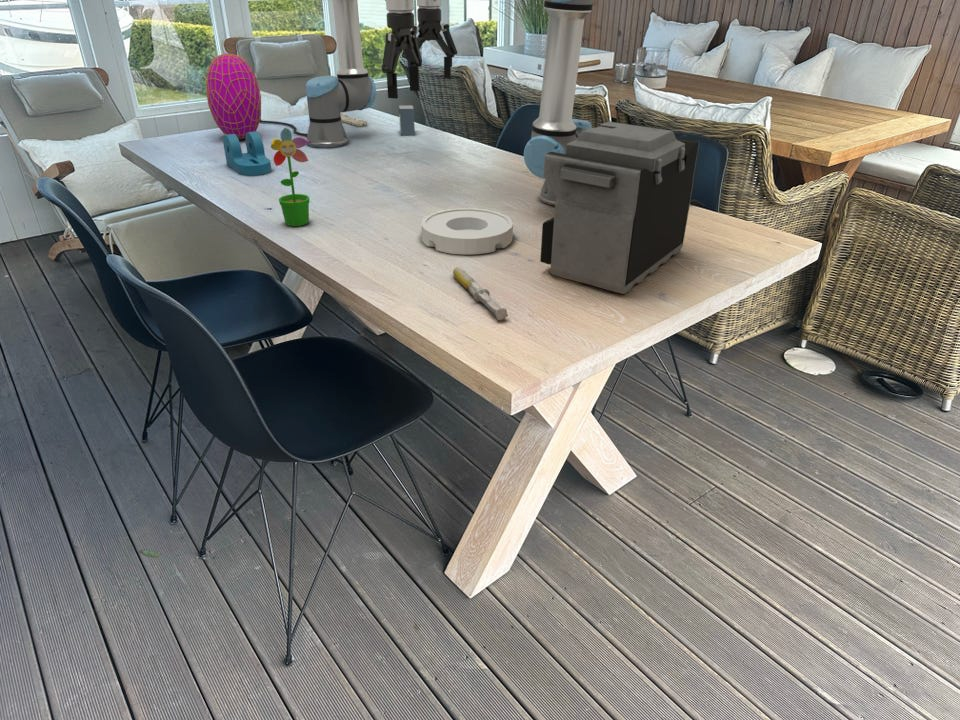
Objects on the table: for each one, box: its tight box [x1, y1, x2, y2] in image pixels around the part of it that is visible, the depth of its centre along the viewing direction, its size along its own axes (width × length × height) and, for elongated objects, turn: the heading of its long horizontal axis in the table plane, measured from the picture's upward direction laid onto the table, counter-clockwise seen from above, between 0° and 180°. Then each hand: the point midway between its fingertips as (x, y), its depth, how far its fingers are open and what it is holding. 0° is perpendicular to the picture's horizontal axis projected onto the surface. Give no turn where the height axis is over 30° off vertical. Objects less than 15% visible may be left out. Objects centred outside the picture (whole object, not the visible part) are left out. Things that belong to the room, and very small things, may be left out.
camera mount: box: [222, 130, 272, 176], centre depth 226 cm, size 18×10×10 cm, turn 35°
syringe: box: [452, 266, 509, 321], centre depth 145 cm, size 25×4×3 cm, turn 21°
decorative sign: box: [341, 112, 368, 127], centre depth 295 cm, size 26×1×10 cm
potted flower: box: [270, 127, 310, 227], centre depth 177 cm, size 9×8×25 cm
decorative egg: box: [205, 53, 262, 141], centre depth 258 cm, size 19×19×30 cm
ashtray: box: [420, 207, 514, 256], centre depth 174 cm, size 23×23×4 cm
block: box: [398, 105, 416, 137], centre depth 274 cm, size 7×6×10 cm
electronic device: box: [539, 121, 701, 295], centre depth 154 cm, size 37×22×30 cm, turn 144°
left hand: (430, 80), depth 226 cm, fingers open, 13 cm apart
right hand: (404, 94), depth 198 cm, fingers open, 13 cm apart
